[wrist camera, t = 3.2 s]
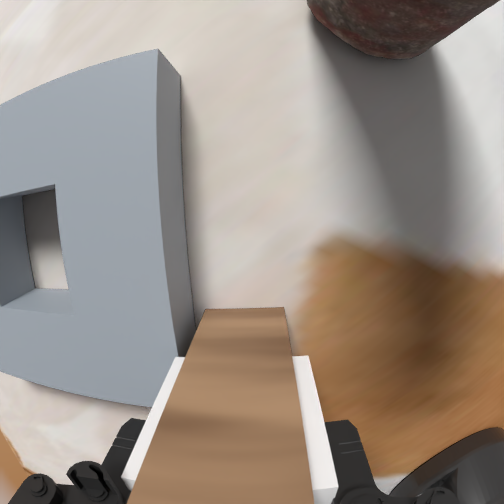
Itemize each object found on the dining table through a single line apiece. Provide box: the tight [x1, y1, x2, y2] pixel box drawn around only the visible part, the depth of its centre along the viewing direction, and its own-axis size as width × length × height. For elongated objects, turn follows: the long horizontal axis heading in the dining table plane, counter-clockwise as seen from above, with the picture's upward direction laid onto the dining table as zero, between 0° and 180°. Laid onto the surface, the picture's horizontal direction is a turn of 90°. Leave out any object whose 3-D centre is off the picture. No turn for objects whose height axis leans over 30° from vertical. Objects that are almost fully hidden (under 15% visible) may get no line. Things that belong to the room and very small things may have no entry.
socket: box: [0, 49, 196, 407], centre depth 13 cm, size 16×16×4 cm
